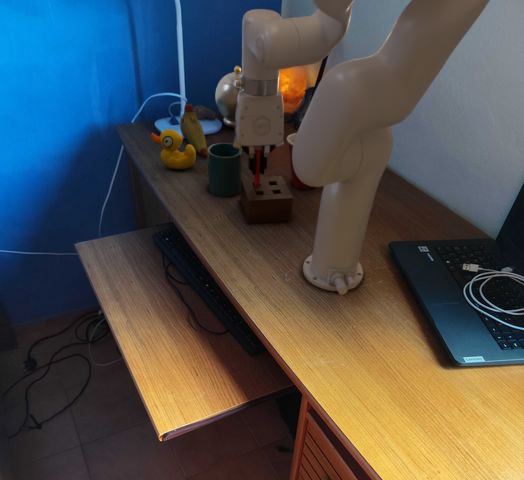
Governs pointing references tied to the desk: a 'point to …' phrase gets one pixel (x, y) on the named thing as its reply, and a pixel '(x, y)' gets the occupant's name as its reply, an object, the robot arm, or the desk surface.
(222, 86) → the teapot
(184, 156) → the duckling
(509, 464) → the desk surface
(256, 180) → the straw
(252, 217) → the straw stand
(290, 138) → the plastic cup
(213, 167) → the tumbler
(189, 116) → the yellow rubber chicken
